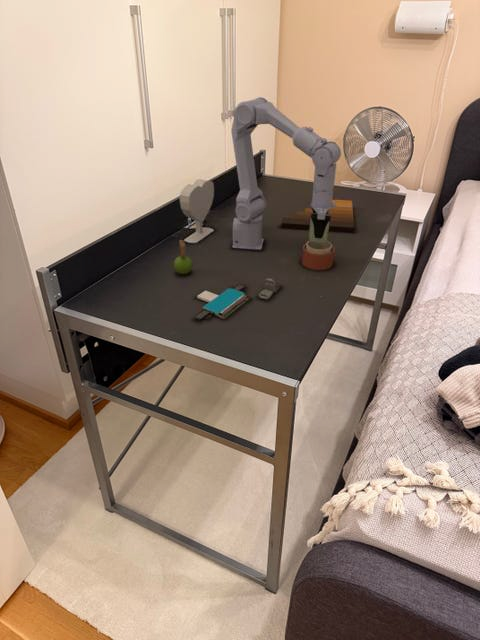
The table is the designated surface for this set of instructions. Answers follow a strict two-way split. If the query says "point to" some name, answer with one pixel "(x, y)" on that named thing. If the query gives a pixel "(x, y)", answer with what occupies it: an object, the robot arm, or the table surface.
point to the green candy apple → (182, 260)
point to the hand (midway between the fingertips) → (318, 233)
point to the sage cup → (312, 237)
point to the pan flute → (339, 214)
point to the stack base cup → (317, 259)
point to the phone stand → (222, 302)
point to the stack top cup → (319, 247)
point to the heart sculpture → (197, 206)
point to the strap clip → (268, 289)
